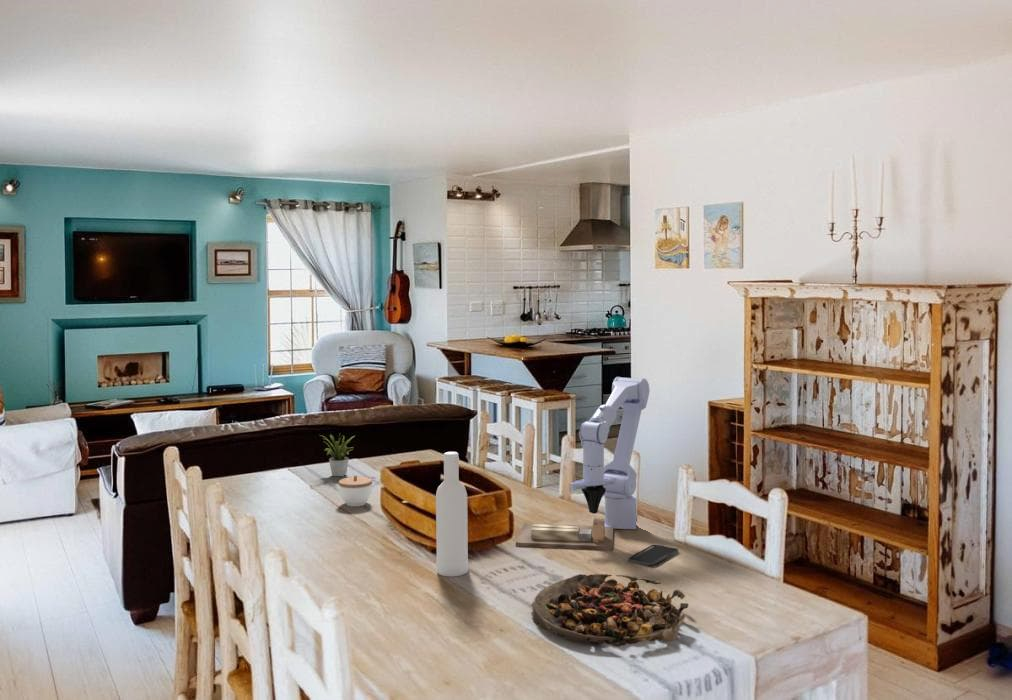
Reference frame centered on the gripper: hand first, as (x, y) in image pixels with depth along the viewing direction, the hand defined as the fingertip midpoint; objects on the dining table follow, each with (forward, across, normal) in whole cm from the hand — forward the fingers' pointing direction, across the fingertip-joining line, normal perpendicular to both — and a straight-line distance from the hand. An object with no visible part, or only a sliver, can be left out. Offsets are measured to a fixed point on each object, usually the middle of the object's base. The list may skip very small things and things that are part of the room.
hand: (593, 512), depth 240 cm
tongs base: (+7, +6, -4) cm, 11 cm away
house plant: (+8, +42, -109) cm, 117 cm away
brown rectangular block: (+6, +1, +4) cm, 7 cm away
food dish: (+8, +28, +47) cm, 55 cm away
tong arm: (+6, +9, -5) cm, 12 cm away
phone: (+8, -5, +21) cm, 23 cm away
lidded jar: (+8, +47, -67) cm, 82 cm away
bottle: (+8, +46, +6) cm, 47 cm away
